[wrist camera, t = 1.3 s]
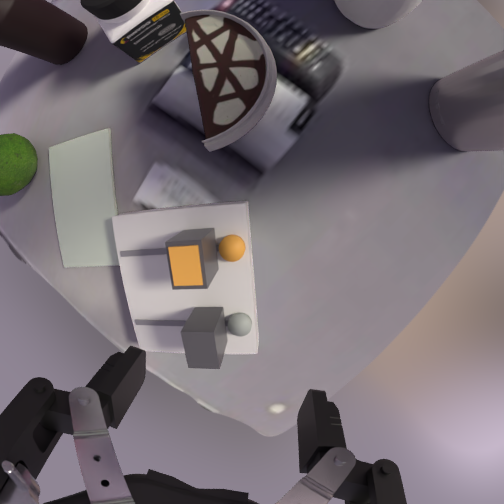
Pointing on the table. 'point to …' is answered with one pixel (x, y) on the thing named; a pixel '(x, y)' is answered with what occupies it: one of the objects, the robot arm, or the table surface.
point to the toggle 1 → (192, 258)
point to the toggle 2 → (205, 337)
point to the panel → (185, 300)
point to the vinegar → (40, 30)
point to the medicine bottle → (138, 24)
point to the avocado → (16, 163)
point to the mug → (376, 11)
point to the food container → (229, 74)
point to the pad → (84, 200)
